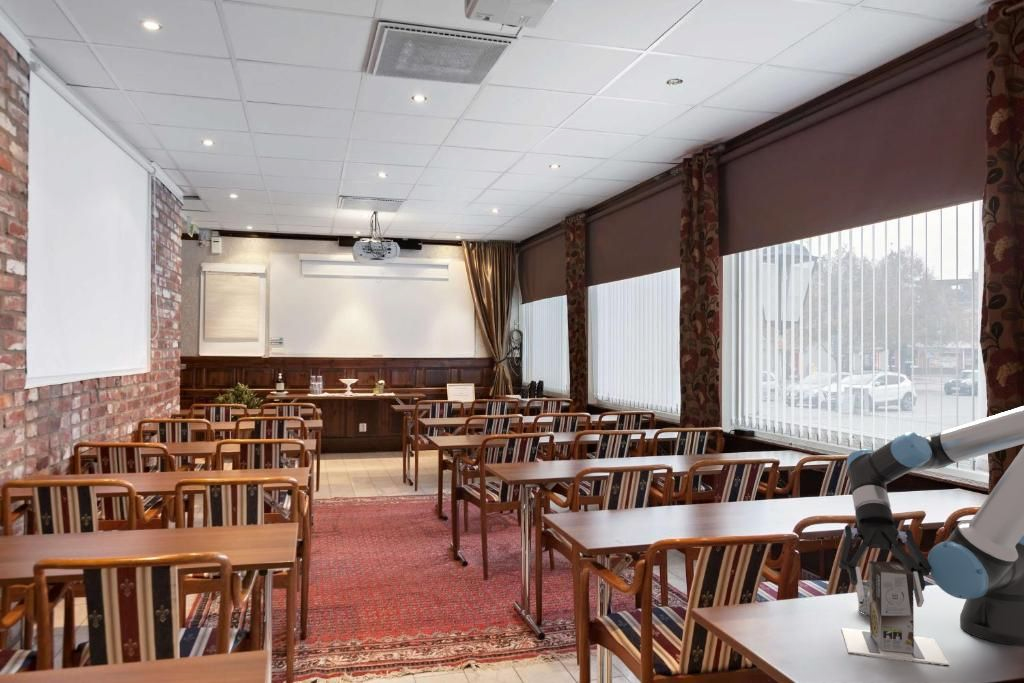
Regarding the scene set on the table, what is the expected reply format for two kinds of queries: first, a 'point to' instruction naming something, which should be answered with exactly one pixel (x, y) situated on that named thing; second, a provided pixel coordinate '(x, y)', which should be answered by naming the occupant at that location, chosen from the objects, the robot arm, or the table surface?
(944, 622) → the table surface
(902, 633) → the coffee box
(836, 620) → the table surface
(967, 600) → the robot arm
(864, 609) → the mug
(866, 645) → the letter card
